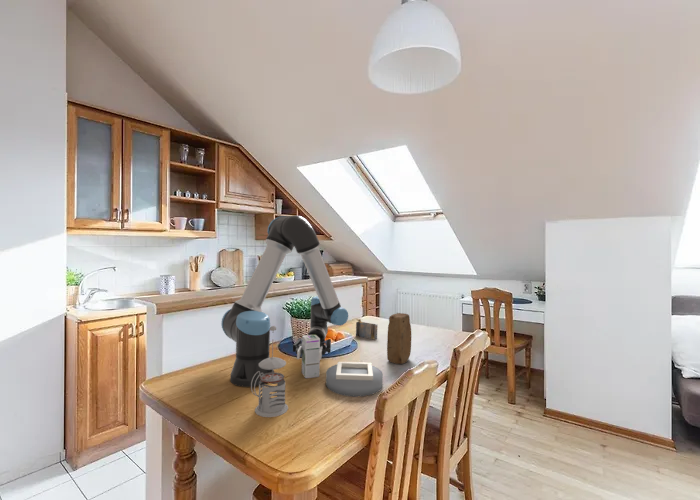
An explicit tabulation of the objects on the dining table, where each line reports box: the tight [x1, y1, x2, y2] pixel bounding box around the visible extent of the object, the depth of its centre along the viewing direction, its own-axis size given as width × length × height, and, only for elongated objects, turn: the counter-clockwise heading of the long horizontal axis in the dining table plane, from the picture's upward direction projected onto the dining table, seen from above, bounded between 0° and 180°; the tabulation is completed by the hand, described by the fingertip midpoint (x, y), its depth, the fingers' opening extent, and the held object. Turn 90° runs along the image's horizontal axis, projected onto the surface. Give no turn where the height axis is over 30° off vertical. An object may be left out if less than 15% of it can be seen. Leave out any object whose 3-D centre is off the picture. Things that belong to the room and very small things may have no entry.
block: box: [386, 312, 412, 365], centre depth 147 cm, size 11×8×20 cm
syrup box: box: [301, 334, 321, 379], centre depth 129 cm, size 6×6×14 cm
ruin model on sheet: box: [355, 318, 378, 340], centre depth 181 cm, size 11×3×10 cm, turn 58°
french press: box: [250, 325, 289, 418], centre depth 102 cm, size 10×12×25 cm
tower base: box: [325, 361, 384, 397], centre depth 123 cm, size 20×20×6 cm
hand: (308, 355), depth 124 cm, fingers closed on syrup box, 7 cm apart
